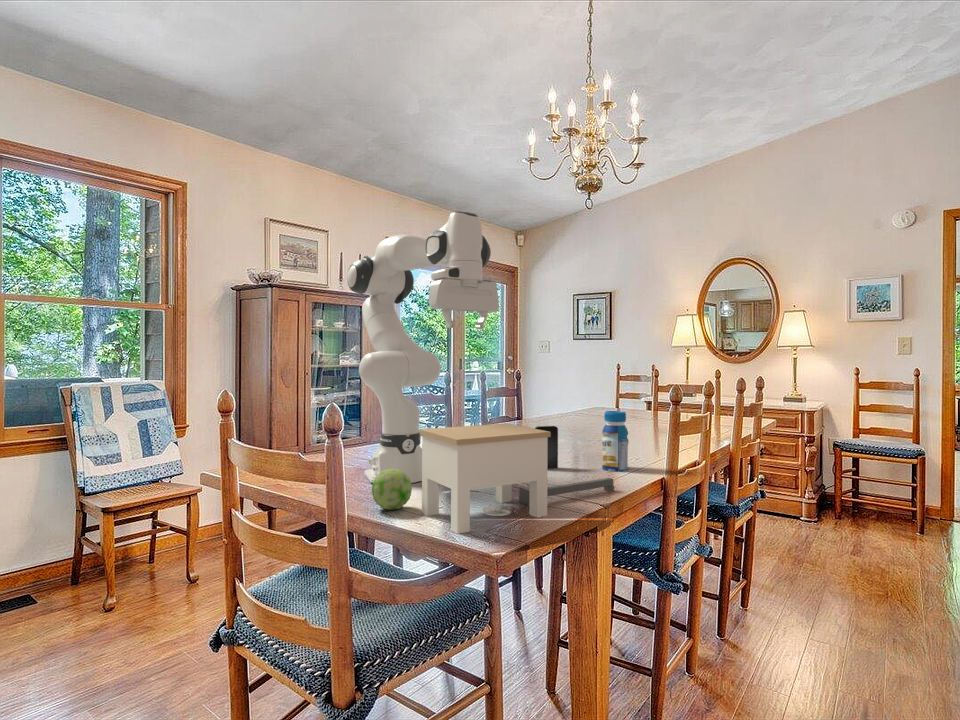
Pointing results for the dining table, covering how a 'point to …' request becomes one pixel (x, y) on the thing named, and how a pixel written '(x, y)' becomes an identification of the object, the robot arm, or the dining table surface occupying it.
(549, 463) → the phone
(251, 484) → the dining table surface
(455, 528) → the white tan small table
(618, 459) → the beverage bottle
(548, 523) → the dining table surface
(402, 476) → the decorative ball
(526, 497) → the hoe scraper
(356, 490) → the dining table surface
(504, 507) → the steel token
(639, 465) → the dining table surface
